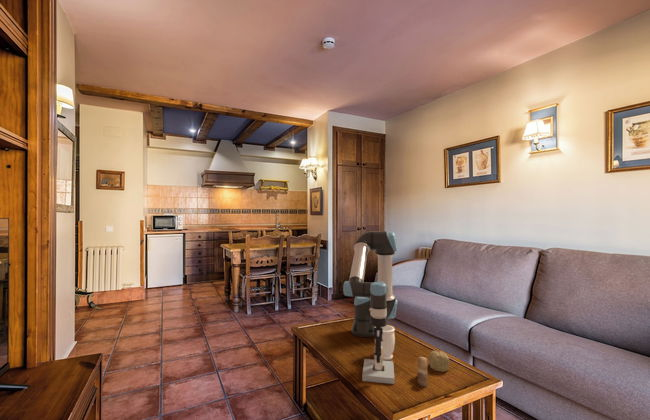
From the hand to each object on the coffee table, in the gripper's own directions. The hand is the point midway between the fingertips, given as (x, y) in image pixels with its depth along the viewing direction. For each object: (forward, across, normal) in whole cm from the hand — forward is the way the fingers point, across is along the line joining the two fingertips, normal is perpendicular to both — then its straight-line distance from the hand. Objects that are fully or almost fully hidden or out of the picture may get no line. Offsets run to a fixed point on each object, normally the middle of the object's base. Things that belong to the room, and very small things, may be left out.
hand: (378, 362), depth 143 cm
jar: (+5, -18, +3) cm, 19 cm away
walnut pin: (+5, +6, +19) cm, 21 cm away
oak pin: (+5, -1, +20) cm, 21 cm away
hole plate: (+5, 0, 0) cm, 5 cm away
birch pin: (+5, 0, 0) cm, 5 cm away
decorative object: (+6, -11, +29) cm, 32 cm away
